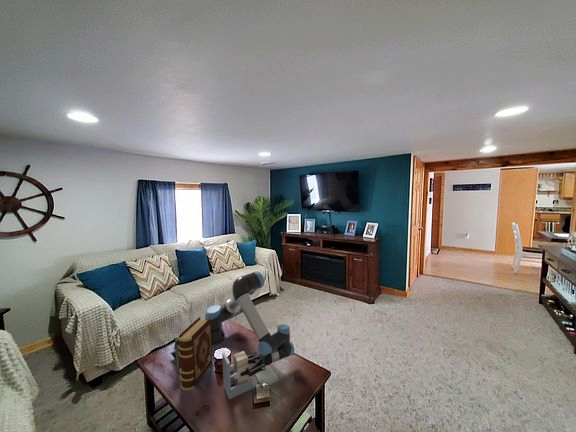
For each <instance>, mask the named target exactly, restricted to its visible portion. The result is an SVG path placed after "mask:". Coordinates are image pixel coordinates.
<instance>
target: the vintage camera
mask: <svg viewBox="0 0 576 432" xmlns="http://www.w3.org/2000/svg"><path fill="white" fill-rule="evenodd" d="M173 342H174V346H173V347H174V349H175V351H172V352H170V355H171V356H172V357H173V359H174V360H175V361H176V367H177V369H178V370H180V368H181V367H180V356H179V352H180V350H179V348H178V346H179V340H178V336H177V337H174V338H173Z"/></svg>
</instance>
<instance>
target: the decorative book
mask: <svg viewBox="0 0 576 432" xmlns="http://www.w3.org/2000/svg"><path fill="white" fill-rule="evenodd" d="M177 338H178V340H179V346H178V348H179V350H180V352H179V356H180V367H181V368H180V369H179V372H180V376H179V379H180V382H181V384H180V388H181V390H183V391H187V392H188V391H192V390H194V389H195V387H196V386H197V385H198V383H199V381H200V380H201V379H202V377H204V375H205V374H206V372H207V370H208V369H209V368H210V366H212V363H213V348H212V347H213V345H212V340H211V321H210V318H209V319H208V320H205V319H201V316H199V317H198V318H197V319H195V320H194V321H193V322H192V323H191V324H190V325H189V326H188V327H187V328H185V330H183V332H181V333H180V334H179V335H177Z"/></svg>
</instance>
